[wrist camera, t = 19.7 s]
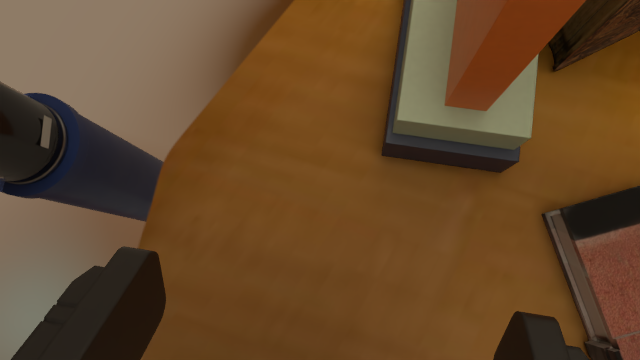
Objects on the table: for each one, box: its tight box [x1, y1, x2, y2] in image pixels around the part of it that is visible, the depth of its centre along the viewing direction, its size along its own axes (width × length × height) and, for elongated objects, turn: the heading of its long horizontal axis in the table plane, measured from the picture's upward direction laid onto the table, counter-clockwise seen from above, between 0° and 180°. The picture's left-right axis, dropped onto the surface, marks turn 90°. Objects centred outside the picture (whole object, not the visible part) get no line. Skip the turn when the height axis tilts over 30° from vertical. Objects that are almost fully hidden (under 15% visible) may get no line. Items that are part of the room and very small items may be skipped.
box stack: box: [382, 0, 539, 173], centre depth 44 cm, size 12×20×9 cm, turn 171°
